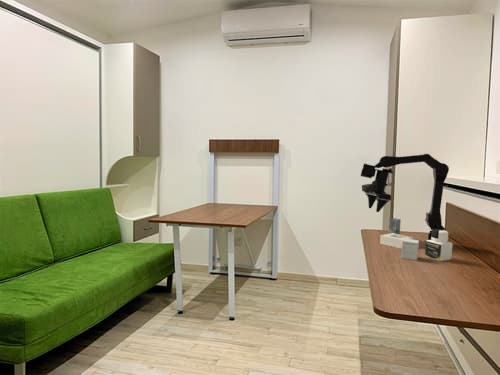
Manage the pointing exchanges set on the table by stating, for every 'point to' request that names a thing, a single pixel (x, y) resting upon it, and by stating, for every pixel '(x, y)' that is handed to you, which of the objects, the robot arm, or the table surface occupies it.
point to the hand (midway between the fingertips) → (373, 210)
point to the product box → (410, 249)
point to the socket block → (393, 239)
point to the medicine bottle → (438, 246)
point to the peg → (394, 226)
